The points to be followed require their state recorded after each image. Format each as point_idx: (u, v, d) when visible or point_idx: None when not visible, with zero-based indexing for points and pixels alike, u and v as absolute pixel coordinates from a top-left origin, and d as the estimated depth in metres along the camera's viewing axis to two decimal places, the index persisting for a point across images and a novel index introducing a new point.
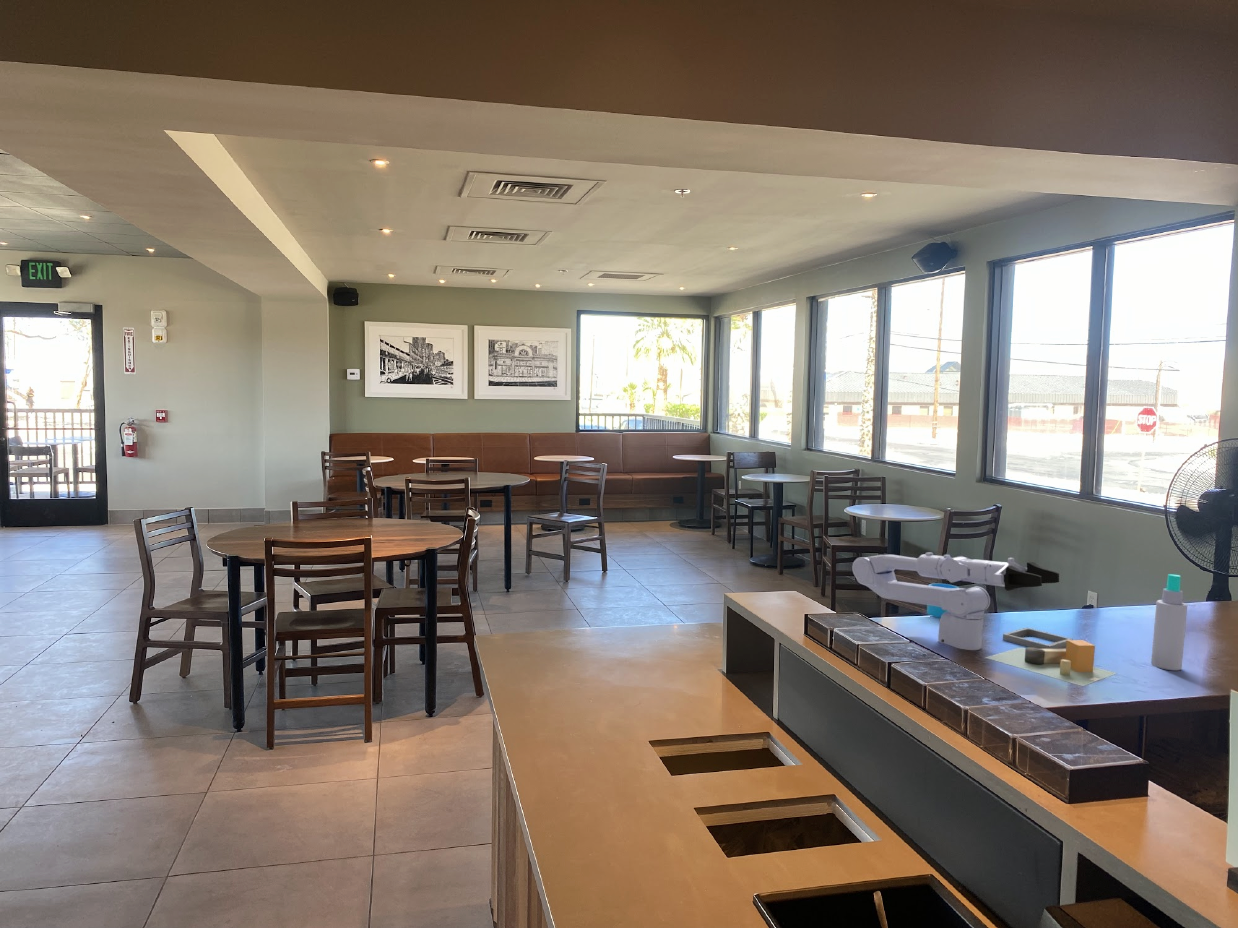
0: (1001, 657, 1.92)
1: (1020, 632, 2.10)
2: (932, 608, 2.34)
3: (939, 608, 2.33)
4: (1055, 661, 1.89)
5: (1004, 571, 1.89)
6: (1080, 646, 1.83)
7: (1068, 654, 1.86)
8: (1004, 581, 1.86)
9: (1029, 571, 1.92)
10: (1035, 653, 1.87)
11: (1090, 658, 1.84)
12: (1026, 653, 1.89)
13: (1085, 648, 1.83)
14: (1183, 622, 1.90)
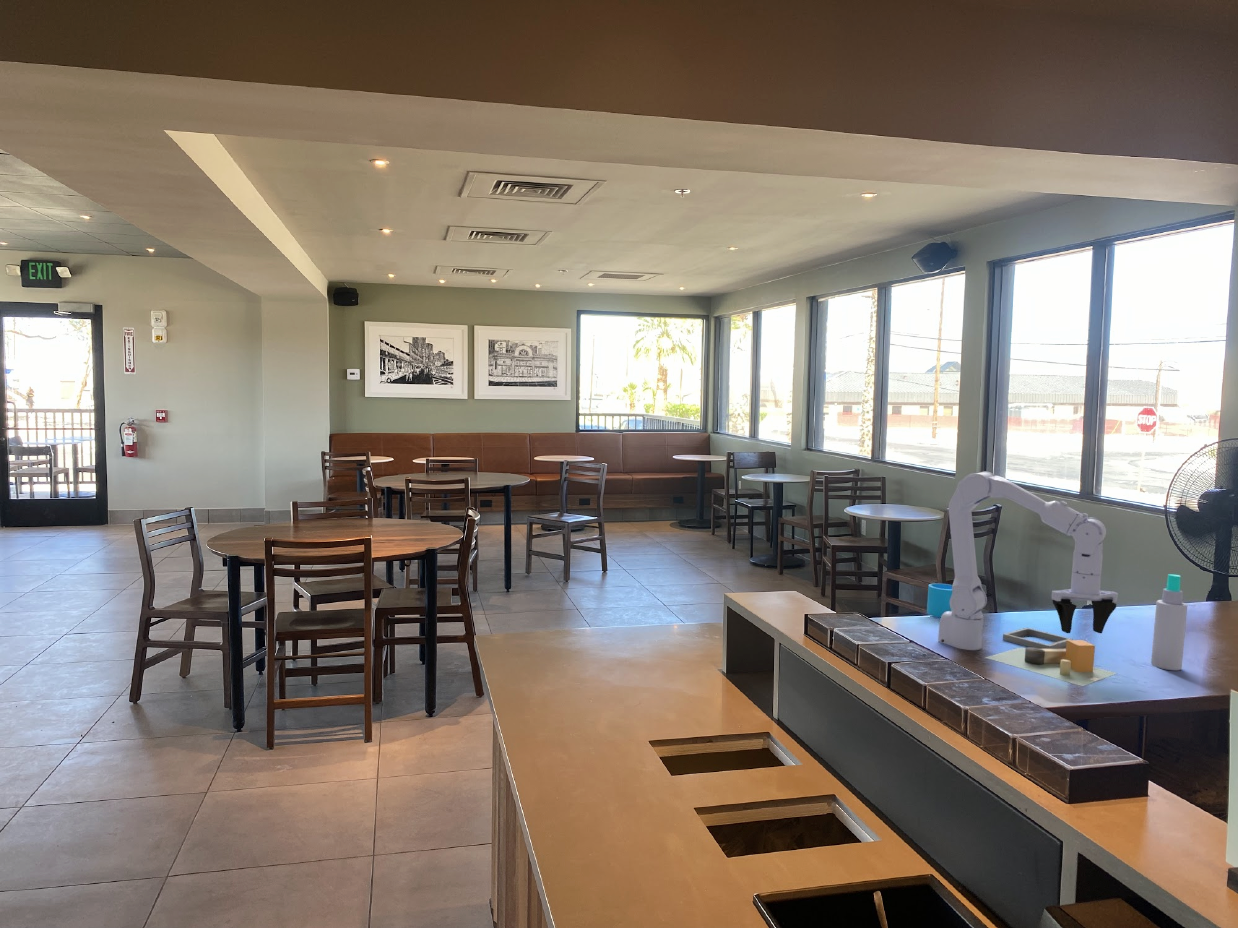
0: (1001, 657, 1.92)
1: (1020, 632, 2.10)
2: (932, 608, 2.34)
3: (939, 608, 2.33)
4: (1055, 661, 1.89)
5: None
6: (1080, 646, 1.83)
7: (1068, 654, 1.86)
8: None
9: (1101, 604, 1.84)
10: (1035, 653, 1.87)
11: (1090, 658, 1.84)
12: (1026, 653, 1.89)
13: (1085, 648, 1.83)
14: (1183, 622, 1.90)
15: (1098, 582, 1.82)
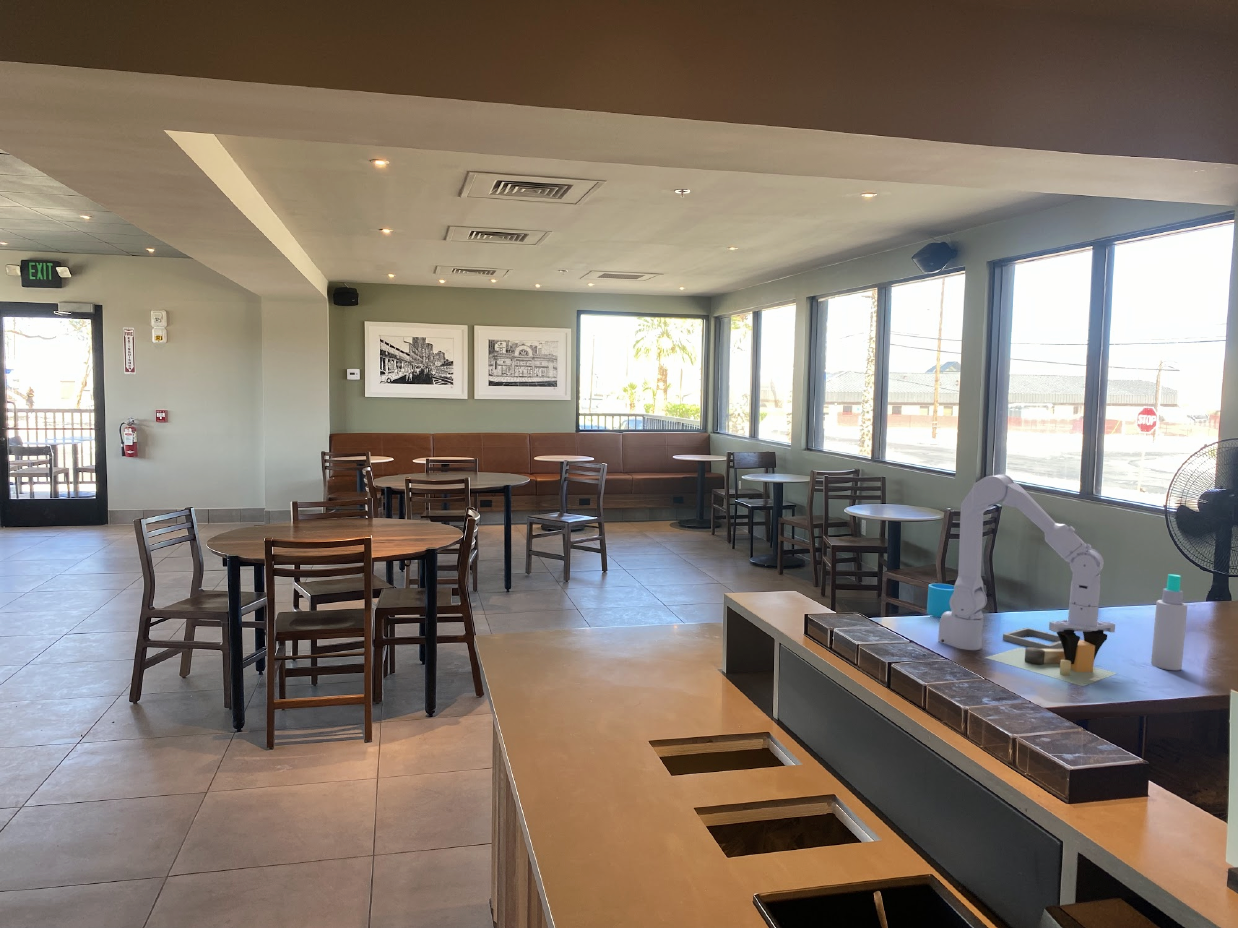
0: (1001, 657, 1.92)
1: (1020, 632, 2.10)
2: (932, 608, 2.34)
3: (939, 608, 2.33)
4: (1055, 661, 1.89)
5: None
6: (1080, 646, 1.83)
7: None
8: None
9: (1092, 635, 1.85)
10: (1035, 653, 1.87)
11: (1090, 658, 1.84)
12: (1026, 653, 1.89)
13: (1085, 648, 1.83)
14: (1183, 622, 1.90)
15: (1095, 613, 1.82)
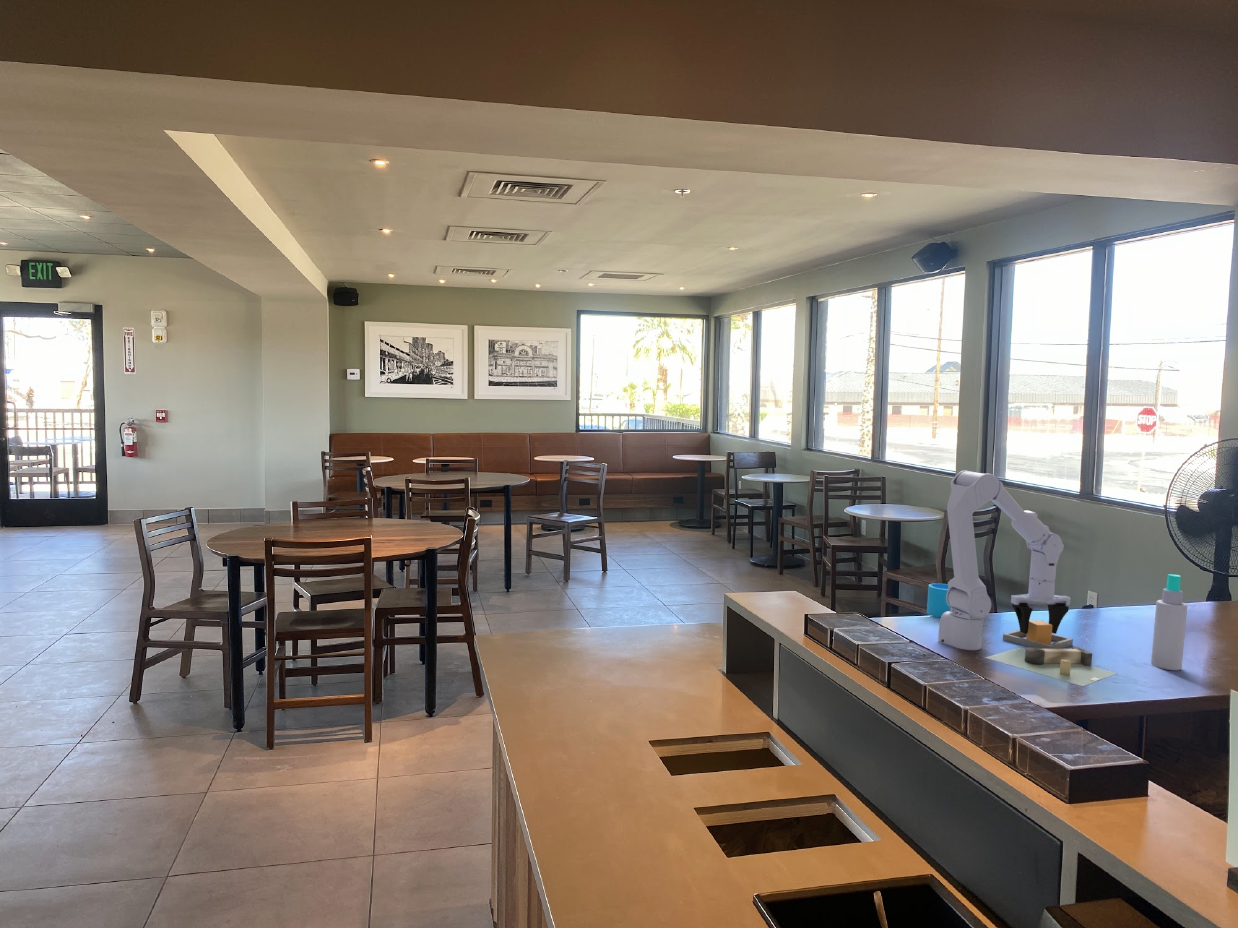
0: (1001, 657, 1.92)
1: (1020, 632, 2.10)
2: (932, 608, 2.34)
3: (939, 608, 2.33)
4: (1055, 661, 1.89)
5: None
6: (1039, 626, 2.03)
7: (1028, 633, 2.06)
8: (1015, 603, 2.05)
9: (1055, 607, 2.05)
10: (1035, 653, 1.87)
11: (1048, 636, 2.03)
12: (1026, 653, 1.89)
13: (1043, 627, 2.03)
14: (1183, 622, 1.90)
15: (1052, 588, 2.02)
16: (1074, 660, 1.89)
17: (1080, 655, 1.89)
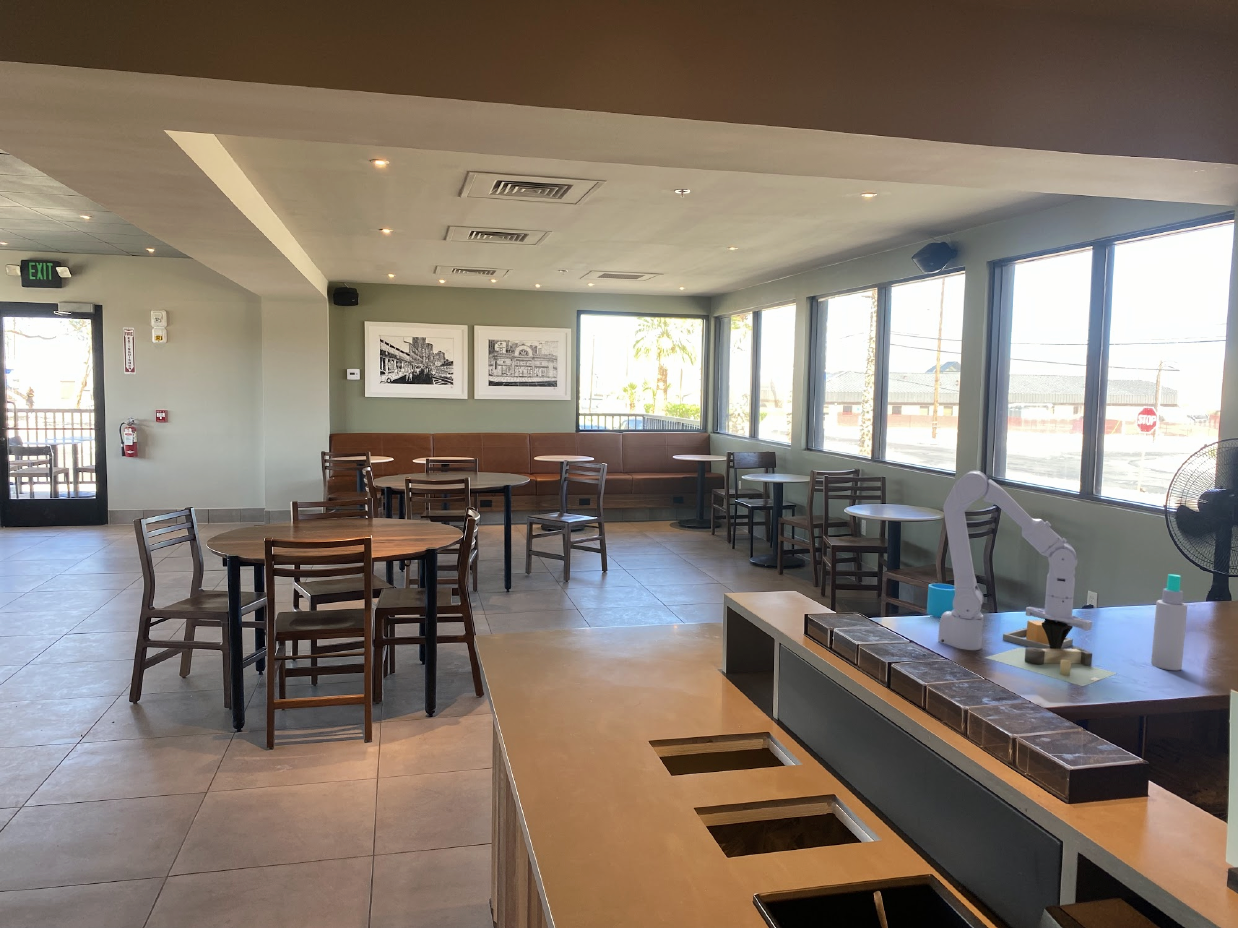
0: (1001, 657, 1.92)
1: (1020, 632, 2.10)
2: (932, 608, 2.34)
3: (939, 608, 2.33)
4: (1055, 661, 1.89)
5: None
6: (1039, 626, 2.03)
7: (1028, 633, 2.06)
8: None
9: None
10: (1035, 653, 1.87)
11: None
12: (1026, 653, 1.89)
13: None
14: (1183, 622, 1.90)
15: (1057, 604, 1.89)
16: (1074, 660, 1.89)
17: (1080, 655, 1.89)
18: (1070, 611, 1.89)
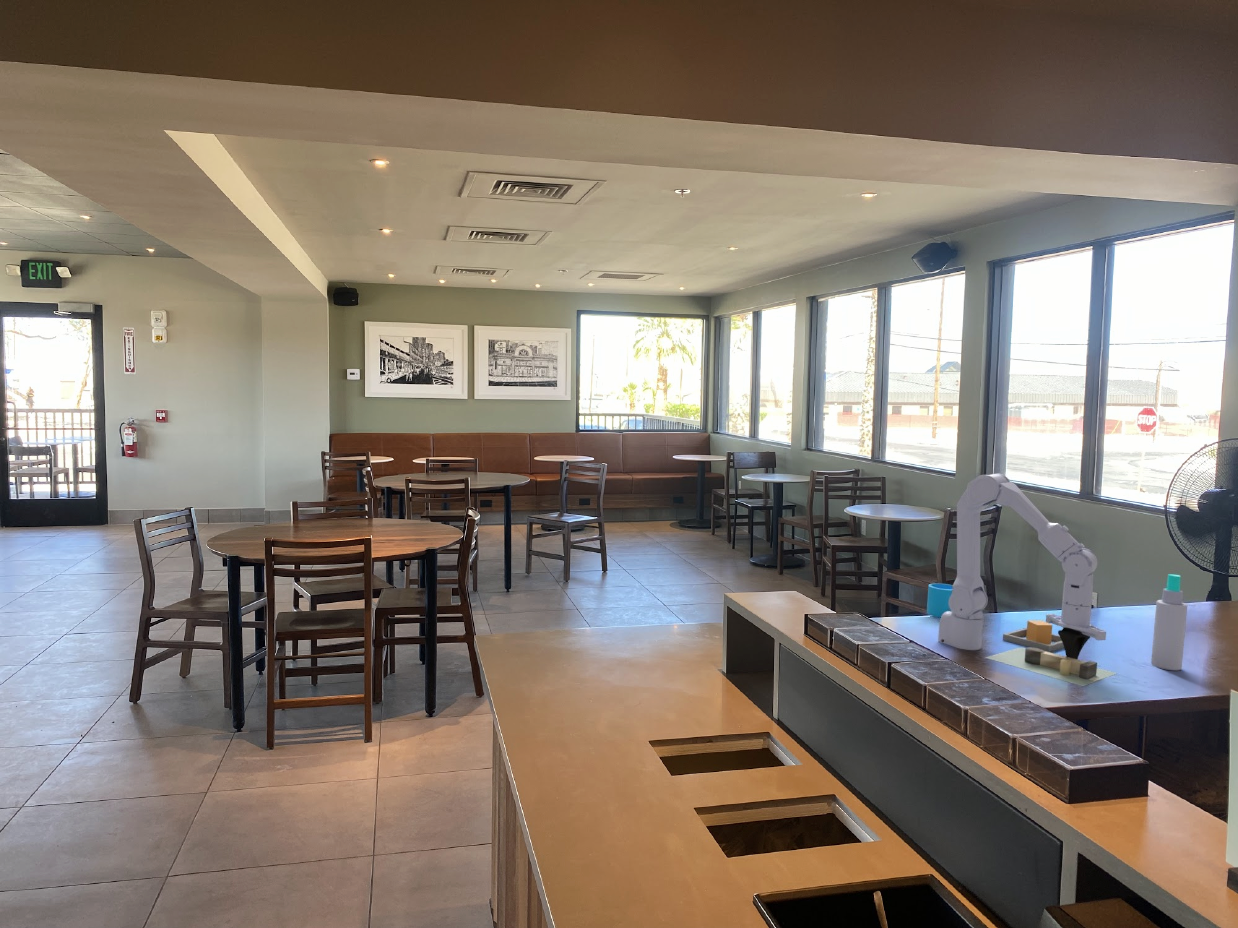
0: (1001, 657, 1.92)
1: (1020, 632, 2.10)
2: (932, 608, 2.34)
3: (939, 608, 2.33)
4: (1052, 666, 1.85)
5: None
6: (1039, 626, 2.03)
7: (1028, 633, 2.06)
8: None
9: None
10: (1027, 651, 1.89)
11: (1048, 636, 2.03)
12: None
13: (1043, 627, 2.03)
14: (1183, 622, 1.90)
15: (1071, 612, 1.82)
16: (1074, 670, 1.82)
17: None
18: (1085, 620, 1.82)
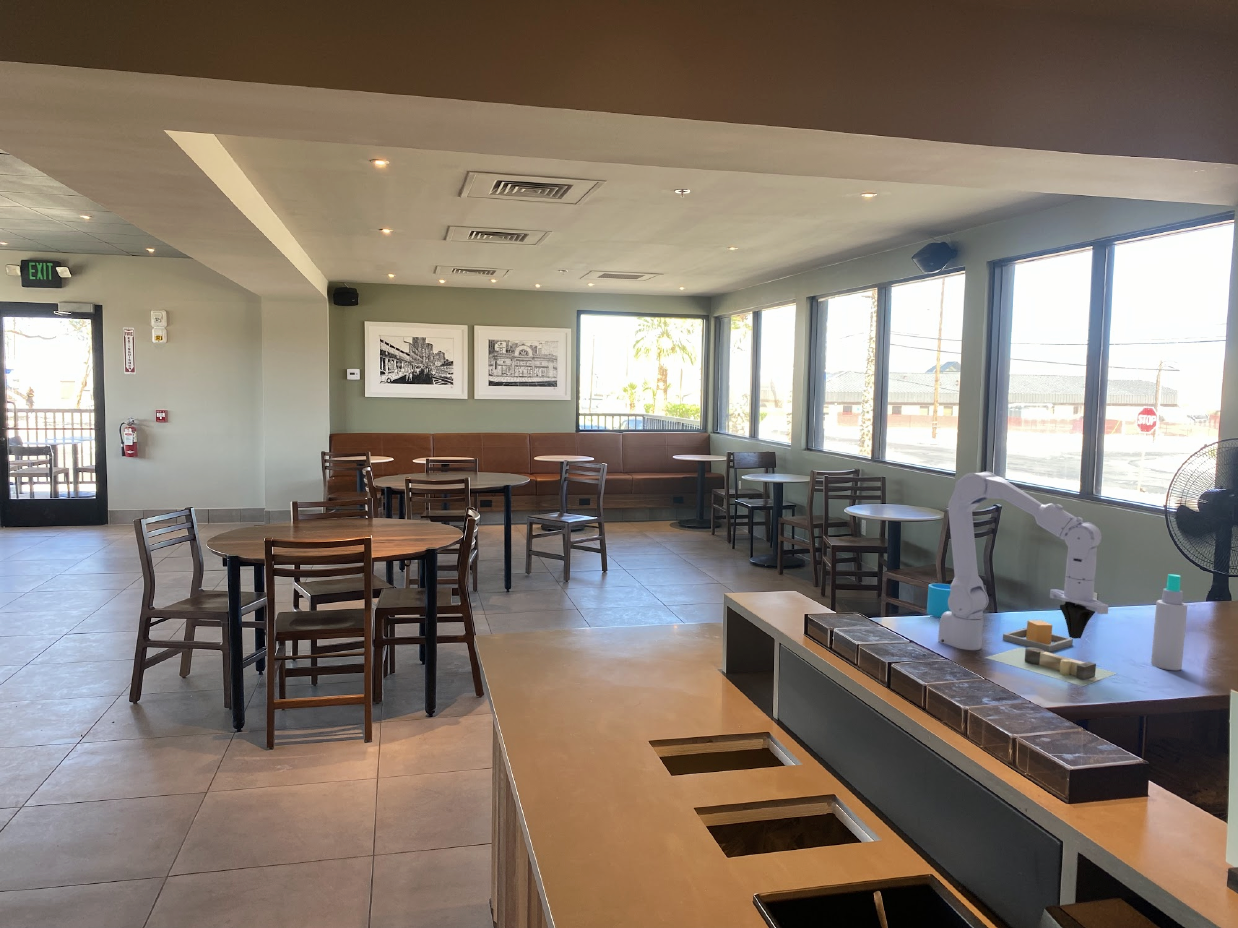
0: (1001, 657, 1.92)
1: (1020, 632, 2.10)
2: (932, 608, 2.34)
3: (939, 608, 2.33)
4: (1051, 666, 1.85)
5: None
6: (1039, 626, 2.03)
7: (1028, 633, 2.06)
8: None
9: None
10: (1026, 651, 1.89)
11: (1048, 636, 2.03)
12: None
13: (1043, 627, 2.03)
14: (1183, 622, 1.90)
15: (1073, 586, 1.80)
16: (1072, 671, 1.81)
17: None
18: (1088, 594, 1.80)
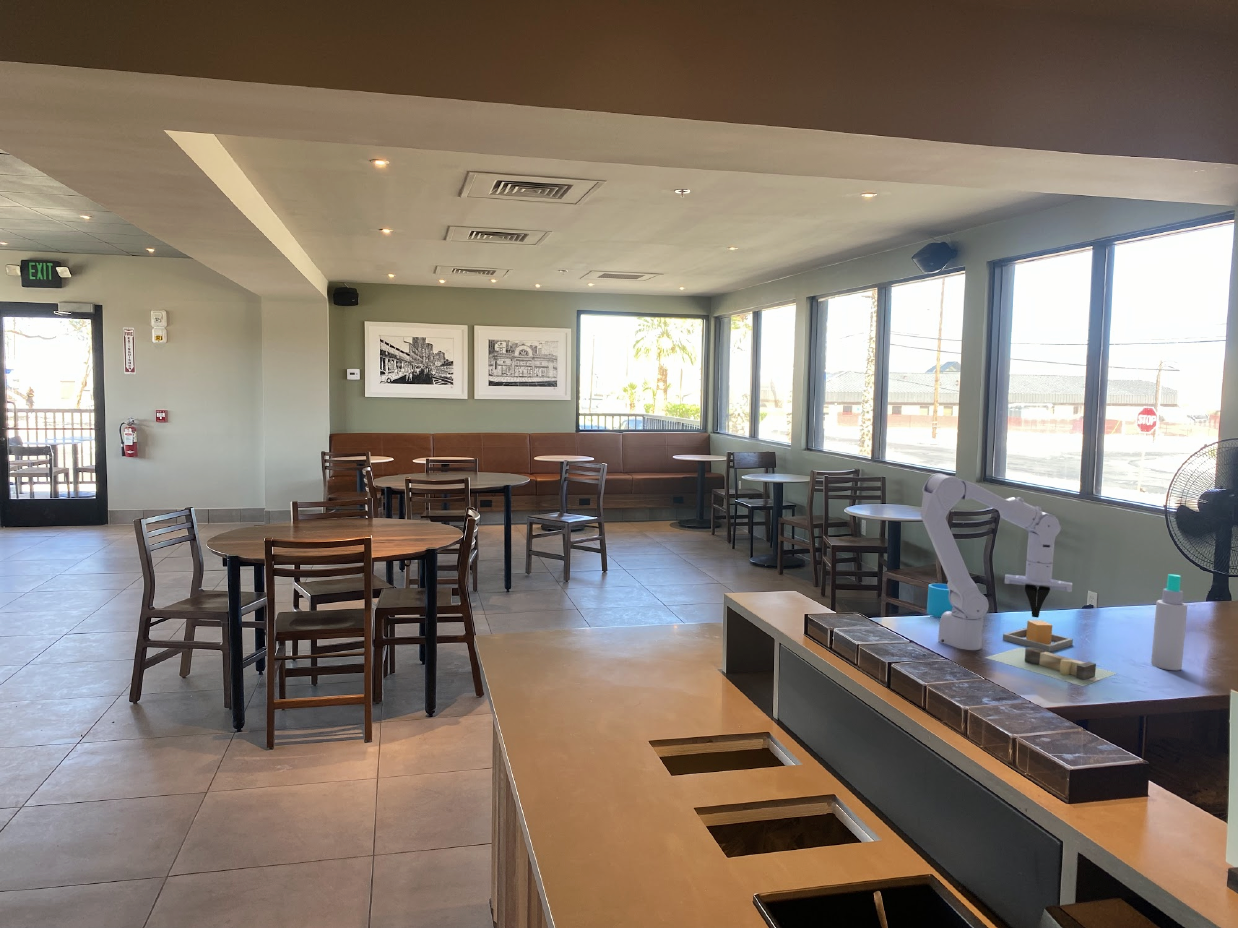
0: (1001, 657, 1.92)
1: (1020, 632, 2.10)
2: (932, 608, 2.34)
3: (939, 608, 2.33)
4: (1051, 666, 1.85)
5: None
6: (1039, 626, 2.03)
7: (1028, 633, 2.06)
8: None
9: None
10: (1026, 651, 1.89)
11: (1048, 636, 2.03)
12: None
13: (1043, 627, 2.03)
14: (1183, 622, 1.90)
15: (1043, 570, 1.96)
16: (1072, 671, 1.81)
17: None
18: (1051, 575, 1.98)
